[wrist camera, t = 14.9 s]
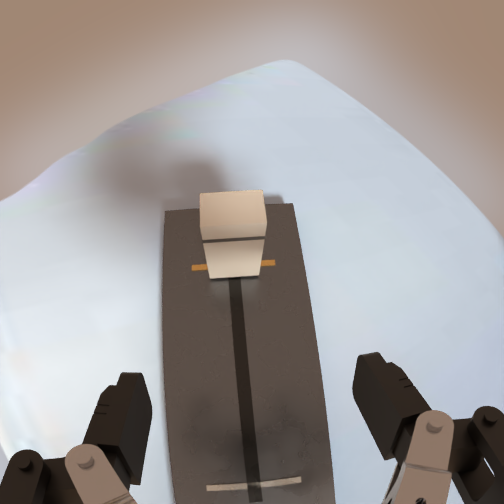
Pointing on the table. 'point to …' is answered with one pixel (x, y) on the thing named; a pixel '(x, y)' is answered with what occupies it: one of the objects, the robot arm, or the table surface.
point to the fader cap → (233, 232)
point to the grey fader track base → (243, 373)
